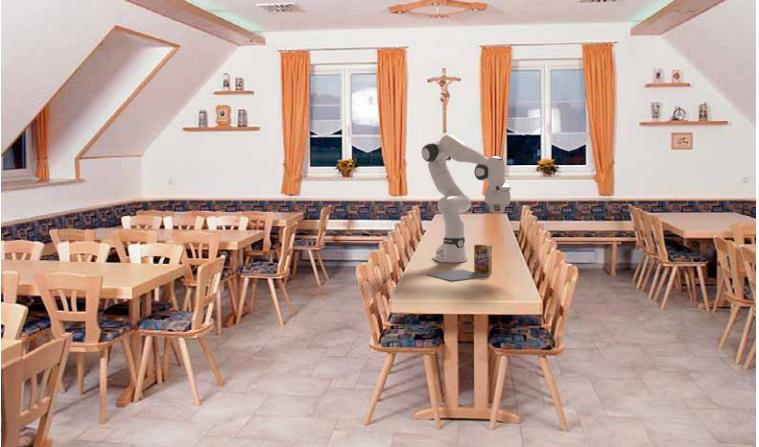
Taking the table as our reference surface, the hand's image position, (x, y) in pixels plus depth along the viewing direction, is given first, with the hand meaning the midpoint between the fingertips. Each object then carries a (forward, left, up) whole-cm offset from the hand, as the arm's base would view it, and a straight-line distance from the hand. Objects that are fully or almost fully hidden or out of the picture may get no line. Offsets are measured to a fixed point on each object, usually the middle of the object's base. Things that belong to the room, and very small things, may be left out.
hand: (497, 212), depth 421 cm
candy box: (+1, -10, -32) cm, 34 cm away
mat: (+1, -27, -32) cm, 42 cm away
